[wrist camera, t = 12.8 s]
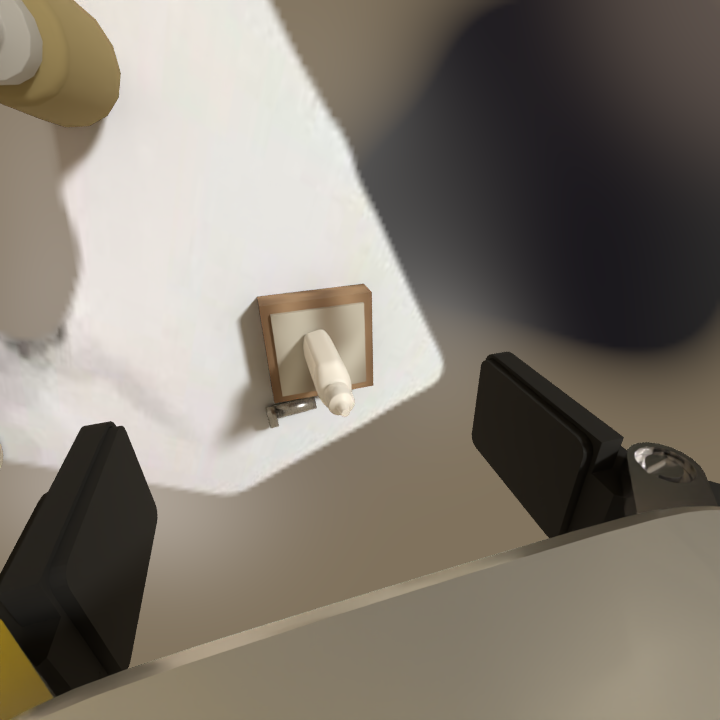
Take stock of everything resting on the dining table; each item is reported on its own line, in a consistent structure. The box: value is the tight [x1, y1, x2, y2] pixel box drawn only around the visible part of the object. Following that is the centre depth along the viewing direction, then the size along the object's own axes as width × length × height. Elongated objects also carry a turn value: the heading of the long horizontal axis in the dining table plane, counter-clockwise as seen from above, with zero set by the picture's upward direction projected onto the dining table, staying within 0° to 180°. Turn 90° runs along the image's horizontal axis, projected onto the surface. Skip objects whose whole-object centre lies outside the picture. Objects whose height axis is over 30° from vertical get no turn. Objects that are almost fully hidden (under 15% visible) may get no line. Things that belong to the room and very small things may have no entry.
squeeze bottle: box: [0, 0, 121, 127], centre depth 23 cm, size 8×8×18 cm
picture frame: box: [257, 284, 373, 403], centre depth 46 cm, size 12×12×3 cm
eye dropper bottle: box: [303, 330, 355, 417], centre depth 39 cm, size 4×6×12 cm
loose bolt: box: [266, 396, 317, 428], centre depth 50 cm, size 6×3×3 cm
